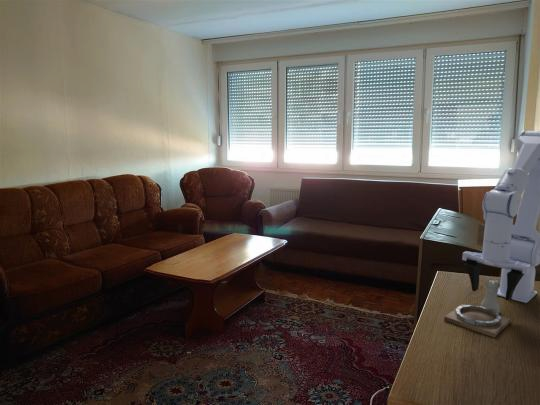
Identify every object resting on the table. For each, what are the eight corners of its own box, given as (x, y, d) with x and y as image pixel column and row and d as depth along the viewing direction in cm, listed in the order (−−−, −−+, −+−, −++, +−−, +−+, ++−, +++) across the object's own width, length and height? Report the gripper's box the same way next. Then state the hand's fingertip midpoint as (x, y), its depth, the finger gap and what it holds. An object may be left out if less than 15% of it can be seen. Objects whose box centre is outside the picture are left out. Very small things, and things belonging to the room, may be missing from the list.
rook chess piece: (502, 315, 101) (506, 284, 99) (482, 314, 102) (485, 282, 100) (496, 307, 105) (499, 277, 104) (477, 306, 106) (480, 276, 104)
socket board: (461, 307, 105) (462, 300, 105) (510, 322, 97) (510, 314, 97) (444, 320, 99) (444, 312, 98) (494, 337, 91) (495, 328, 90)
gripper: (459, 237, 102) (454, 290, 105) (526, 250, 92) (519, 308, 95) (470, 232, 107) (466, 283, 110) (535, 244, 97) (528, 299, 99)
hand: (491, 294), depth 103 cm, fingers open, 7 cm apart
